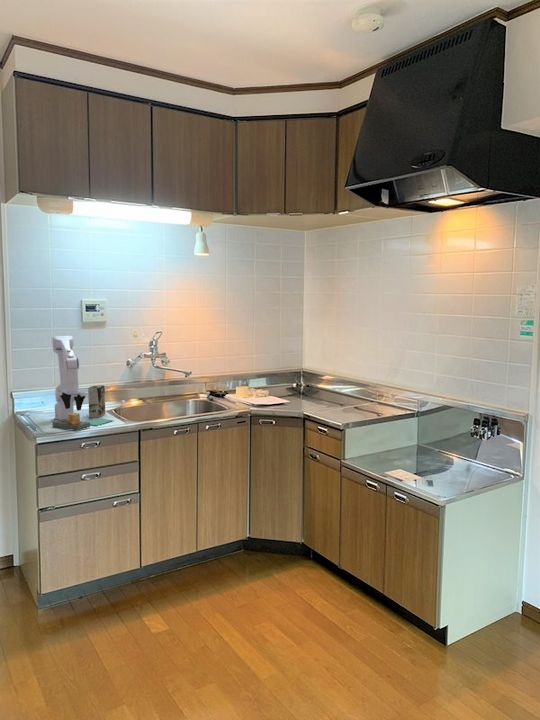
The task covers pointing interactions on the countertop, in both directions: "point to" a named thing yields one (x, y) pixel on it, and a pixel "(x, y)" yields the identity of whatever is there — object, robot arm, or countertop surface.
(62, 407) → the robot arm
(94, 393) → the coffee box
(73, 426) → the rail plate
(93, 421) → the mat
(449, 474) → the countertop surface
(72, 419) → the peg
